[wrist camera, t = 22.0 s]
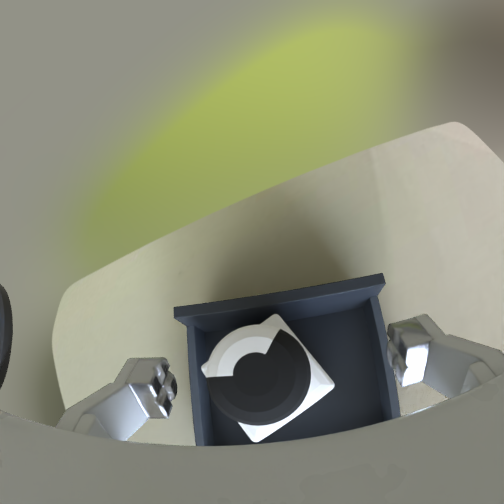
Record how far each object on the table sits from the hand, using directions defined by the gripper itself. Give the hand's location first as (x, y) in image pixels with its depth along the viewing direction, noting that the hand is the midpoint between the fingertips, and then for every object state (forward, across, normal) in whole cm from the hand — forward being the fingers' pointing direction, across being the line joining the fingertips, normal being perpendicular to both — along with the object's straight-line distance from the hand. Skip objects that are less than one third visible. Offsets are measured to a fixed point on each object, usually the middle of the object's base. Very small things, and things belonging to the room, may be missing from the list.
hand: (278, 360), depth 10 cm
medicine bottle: (+13, +2, +13) cm, 18 cm away
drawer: (+13, 0, +14) cm, 20 cm away
